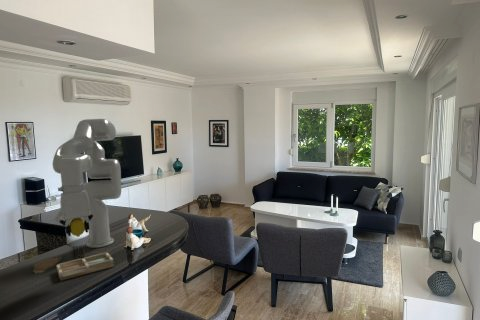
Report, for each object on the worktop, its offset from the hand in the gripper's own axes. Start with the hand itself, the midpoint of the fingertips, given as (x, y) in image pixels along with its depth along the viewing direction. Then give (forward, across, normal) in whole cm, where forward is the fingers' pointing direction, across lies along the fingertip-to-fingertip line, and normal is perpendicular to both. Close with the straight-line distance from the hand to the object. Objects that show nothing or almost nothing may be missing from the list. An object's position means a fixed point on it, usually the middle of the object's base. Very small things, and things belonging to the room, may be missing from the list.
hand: (78, 233), depth 134 cm
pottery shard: (+18, -12, +18) cm, 28 cm away
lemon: (+2, 0, 0) cm, 2 cm away
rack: (+17, +2, +3) cm, 17 cm away
